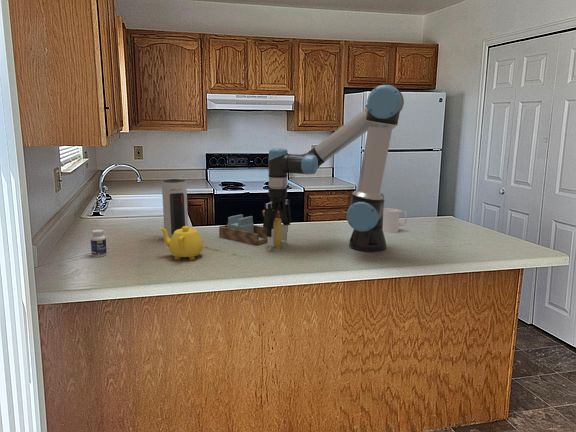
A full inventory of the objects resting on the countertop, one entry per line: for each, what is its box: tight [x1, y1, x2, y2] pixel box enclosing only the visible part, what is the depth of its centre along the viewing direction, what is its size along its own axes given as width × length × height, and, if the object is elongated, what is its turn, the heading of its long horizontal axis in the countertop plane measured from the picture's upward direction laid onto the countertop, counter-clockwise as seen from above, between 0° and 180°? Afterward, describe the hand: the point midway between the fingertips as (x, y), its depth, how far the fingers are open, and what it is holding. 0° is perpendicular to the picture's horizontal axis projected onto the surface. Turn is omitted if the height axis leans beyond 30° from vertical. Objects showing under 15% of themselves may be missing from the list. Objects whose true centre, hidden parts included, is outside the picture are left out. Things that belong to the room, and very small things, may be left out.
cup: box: [383, 207, 408, 234], centre depth 231 cm, size 8×12×10 cm
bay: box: [218, 224, 268, 247], centre depth 209 cm, size 22×12×6 cm, turn 51°
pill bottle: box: [90, 229, 108, 258], centre depth 186 cm, size 5×5×10 cm
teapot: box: [158, 225, 204, 261], centre depth 185 cm, size 14×14×12 cm
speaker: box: [161, 178, 189, 239], centre depth 210 cm, size 11×10×26 cm
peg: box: [273, 217, 283, 250], centre depth 199 cm, size 3×3×12 cm
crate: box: [226, 214, 255, 233], centre depth 210 cm, size 8×8×9 cm
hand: (277, 242), depth 200 cm, fingers open, 8 cm apart
